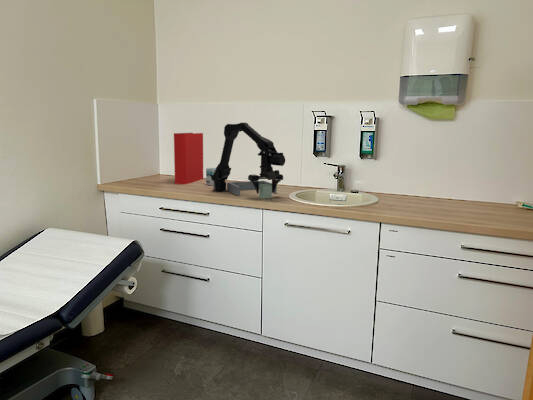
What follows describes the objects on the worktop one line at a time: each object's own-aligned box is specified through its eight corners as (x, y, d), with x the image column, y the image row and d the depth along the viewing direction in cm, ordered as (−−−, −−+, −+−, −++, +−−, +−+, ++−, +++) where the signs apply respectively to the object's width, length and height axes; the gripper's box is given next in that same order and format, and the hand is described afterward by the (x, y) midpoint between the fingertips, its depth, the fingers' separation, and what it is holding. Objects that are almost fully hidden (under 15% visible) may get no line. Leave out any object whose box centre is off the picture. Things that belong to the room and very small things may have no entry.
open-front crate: (237, 195, 216) (238, 186, 215) (227, 190, 231) (227, 182, 230) (276, 193, 226) (276, 184, 225) (263, 188, 241) (263, 180, 240)
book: (192, 178, 278) (192, 132, 271) (203, 179, 275) (202, 133, 269) (173, 183, 252) (172, 133, 246) (185, 184, 250) (184, 133, 243)
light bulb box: (213, 186, 246) (213, 169, 244) (205, 185, 250) (205, 168, 248) (224, 184, 254) (224, 167, 252) (217, 183, 258) (217, 166, 256)
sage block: (263, 198, 209) (263, 186, 208) (259, 197, 213) (259, 184, 212) (271, 198, 211) (271, 185, 210) (267, 196, 216) (267, 184, 214)
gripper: (256, 166, 198) (256, 196, 201) (288, 165, 206) (287, 194, 209) (247, 164, 207) (247, 193, 210) (278, 163, 216) (278, 191, 219)
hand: (265, 193), depth 212 cm, fingers open, 9 cm apart
